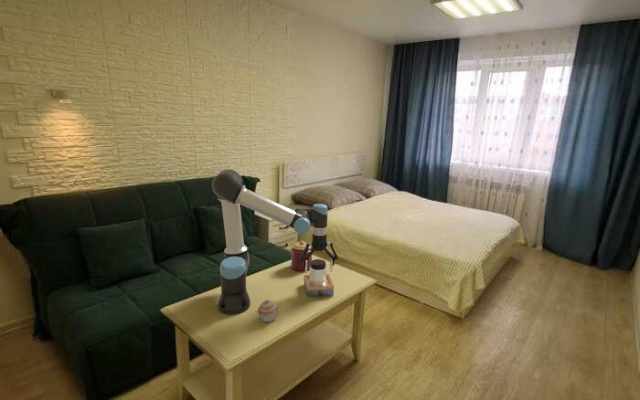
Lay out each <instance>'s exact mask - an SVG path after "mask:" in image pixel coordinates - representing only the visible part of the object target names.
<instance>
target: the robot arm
mask: <svg viewBox="0 0 640 400" xmlns="http://www.w3.org/2000/svg"><path fill="white" fill-rule="evenodd" d="M211 188H212V192H213V193H214V194H215V195H216V196H217V200H218V201H220V202H221V209H222V217H223V218H222V220H223V227H224V233H225V234H224V235H225V243H226V244H225V245H226V247H225V248H224V250H223V252H224V253H223V254H224V259H223V260H222V261H221V262H220V265H219V273H220V289H221V290H220V291H221V292H220V296H219V299H218V302H217V308H218V311H219V312H220V313H222V314H225V315H238V314H242V313H244V312H246V311H247V310H248V309H249V308H250V306H251V299H250V296H249V293H248V291H247V273H248V268H249V266H250V262H251V258H250V253H249V250H248V246H247V245H246V244H245V243H244V242H245V241H244V233H243V232H244V231H243V223H242V212H241V206H243V207H245V208H247V209H250V210H251V211H255V212H256V213H259V214H261V215H263V216H265V217H267V218H269V219H272V220H273V221H276V222H279V223H280V224H283V225H285V226H287V227H290V228H292V229H294V231H295V232H296V233H297V234H300V235H304V234H307V233H308V232H309V231H310V228H311V224H312V234H311V235H312V237H311V238H312V239H311V240H312V241H311V242H308V241H307V243H306V247H305V249H304V251H303V252H302V254H301V256H300V260H301V261H303V266H304V267H305V271H304V272H305V274H308V271H307V259H308V258H309V257H310V256H311V255H312V256H313V254H314V253H315V252H325V253H326V254H327V255H328V257H330V259H329V260H330V261H329V271H330V273H333V266H335V261H336V260H338V259H339V257H338V255H337V252H336V251H335V249H334V248H335V247H334V244H333V242H332V240H331V241H329V242H327V241H328V240H327V239H328V235H327V234H328V216H329V213H328V211H329V210H328V205H326V204H324V203H315V204H313V206H312V208H297V207H296V208H289V207H286V206H285V205H282V204H280V203H278V202H276V201H274V200H272V199H269V198H267V197H265V196H263V195H260V194H259V193H257V192H255V191H252V190H250V189H248V188H246V185H244V184H243V179H242V176H241V174H240V173H239V172H238V171H236V170H235V169H233V168H231V169H230V168H229V169H228V168H227V169H224V170H221V171H220V172H218V174H217V175H215V176H214V178H213V179H212V182H211ZM310 246H311V250H310V251H309V252H308V254H307V255H306V256H305V254H306V252H307V250H308V248H309V247H310ZM327 247H329V248H330V249H331V251H332V253H333V254H332V253H331V252H330V250H328V249H327ZM304 256H305V257H304Z"/></svg>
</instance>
